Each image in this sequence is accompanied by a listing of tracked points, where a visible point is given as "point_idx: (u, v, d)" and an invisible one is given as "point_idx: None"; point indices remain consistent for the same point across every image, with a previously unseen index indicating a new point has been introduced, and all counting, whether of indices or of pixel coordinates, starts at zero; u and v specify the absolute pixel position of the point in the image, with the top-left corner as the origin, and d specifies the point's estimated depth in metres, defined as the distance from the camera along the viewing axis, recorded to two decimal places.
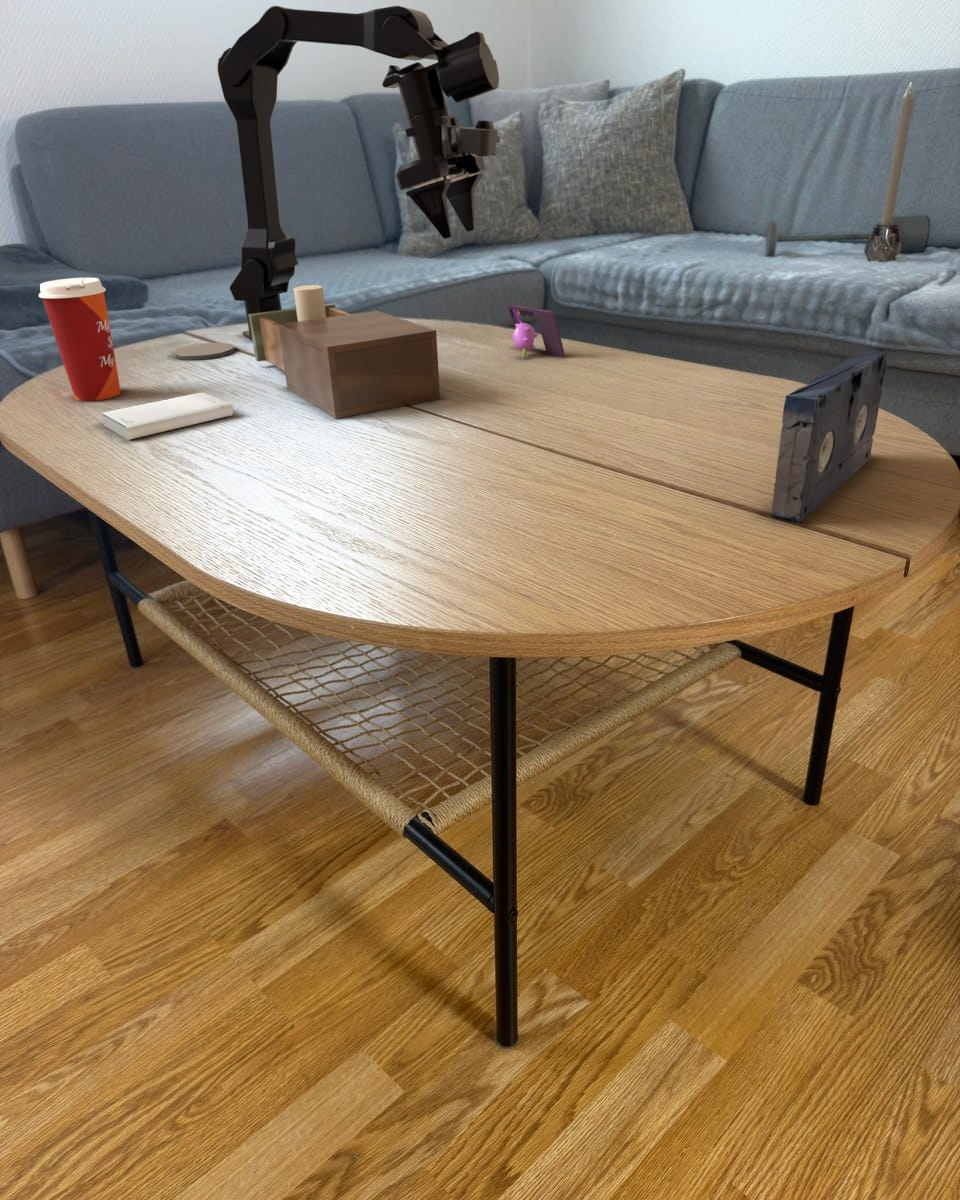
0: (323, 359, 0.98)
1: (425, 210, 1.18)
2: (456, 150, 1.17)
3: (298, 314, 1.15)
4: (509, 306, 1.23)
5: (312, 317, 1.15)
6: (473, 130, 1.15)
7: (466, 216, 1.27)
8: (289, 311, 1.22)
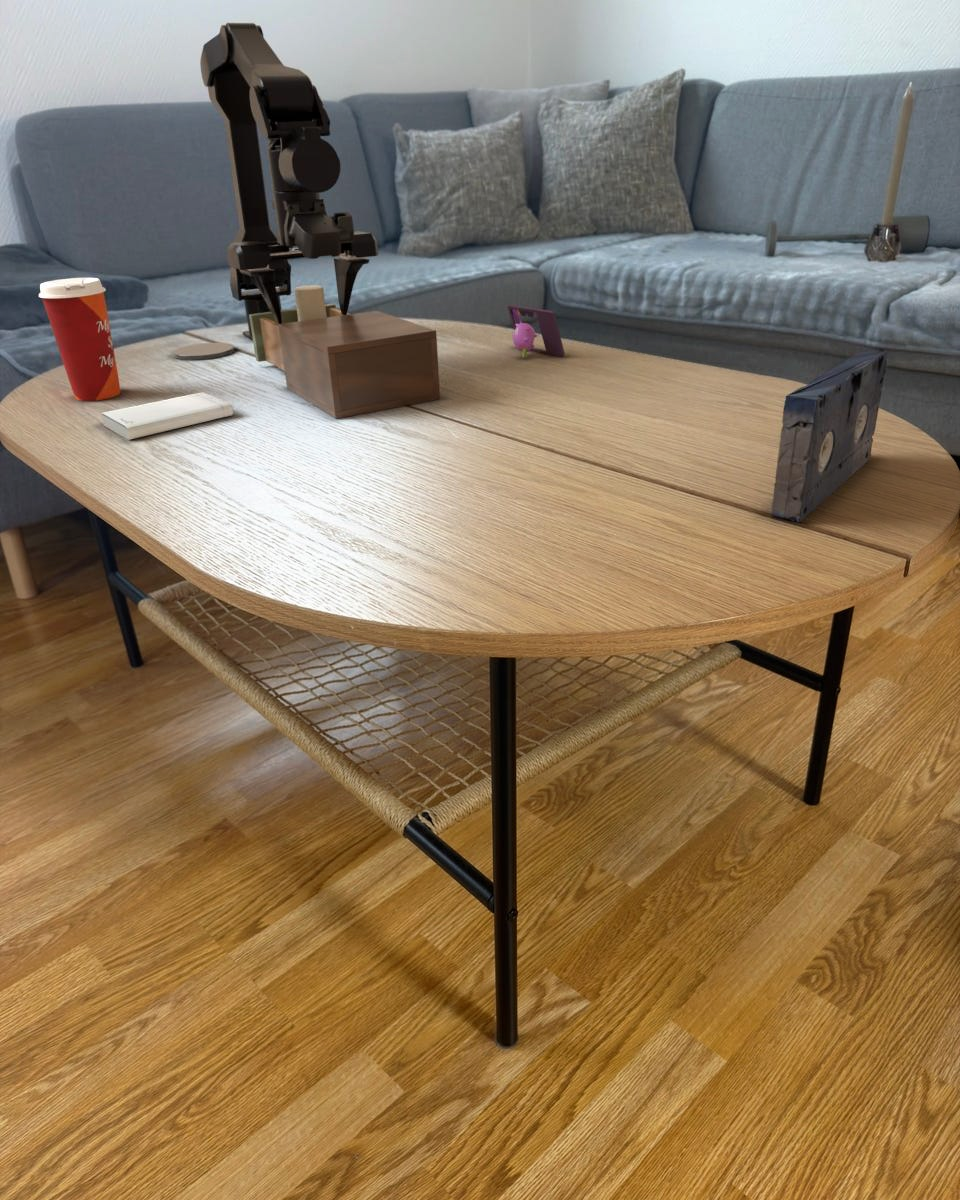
0: (323, 359, 0.98)
1: (260, 290, 1.13)
2: (294, 240, 1.08)
3: (299, 314, 1.15)
4: (509, 306, 1.23)
5: (312, 317, 1.15)
6: (300, 228, 1.05)
7: (341, 299, 1.18)
8: (290, 311, 1.22)
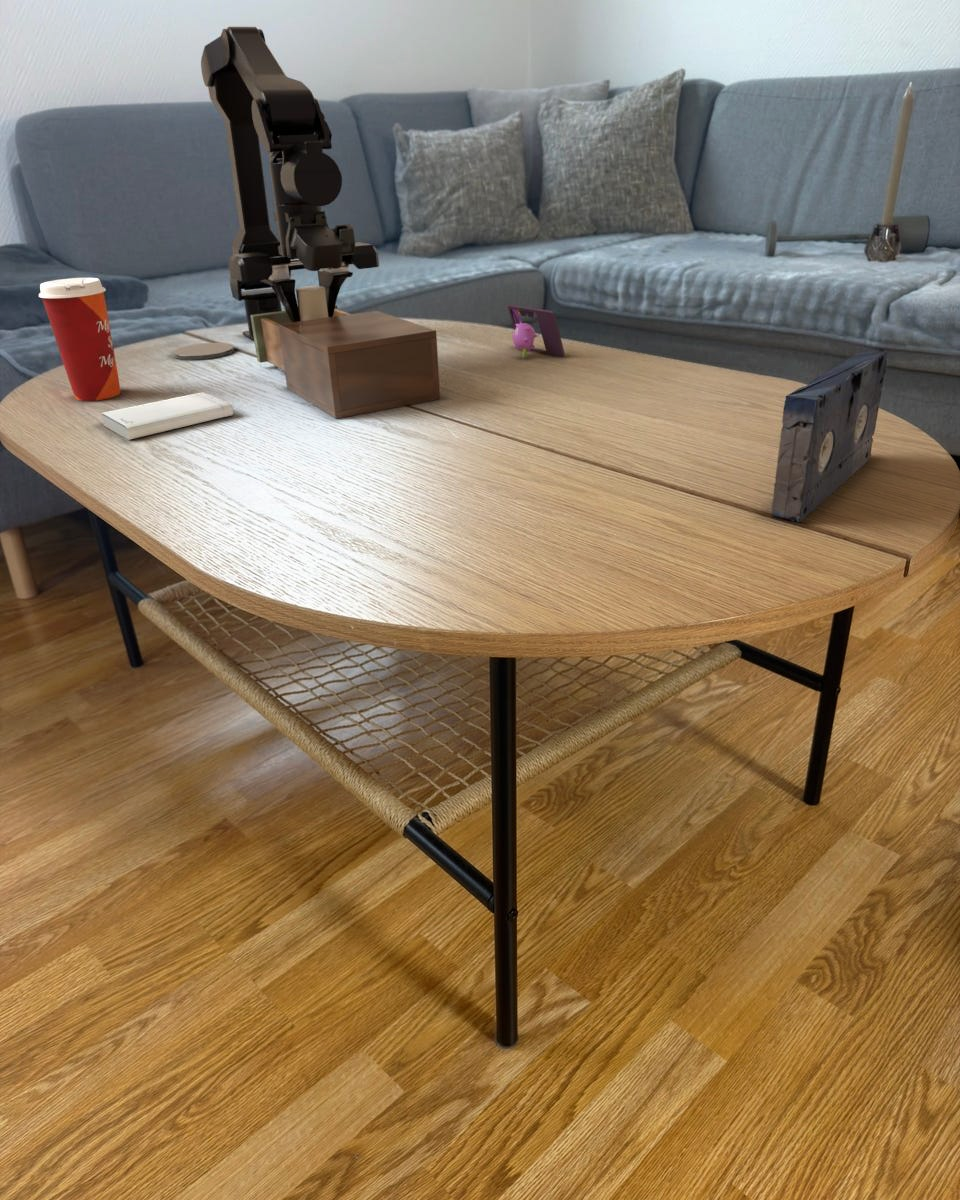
0: (323, 359, 0.98)
1: (280, 299, 1.15)
2: (296, 252, 1.09)
3: (300, 315, 1.15)
4: (509, 306, 1.23)
5: (314, 318, 1.14)
6: (302, 241, 1.06)
7: None
8: None
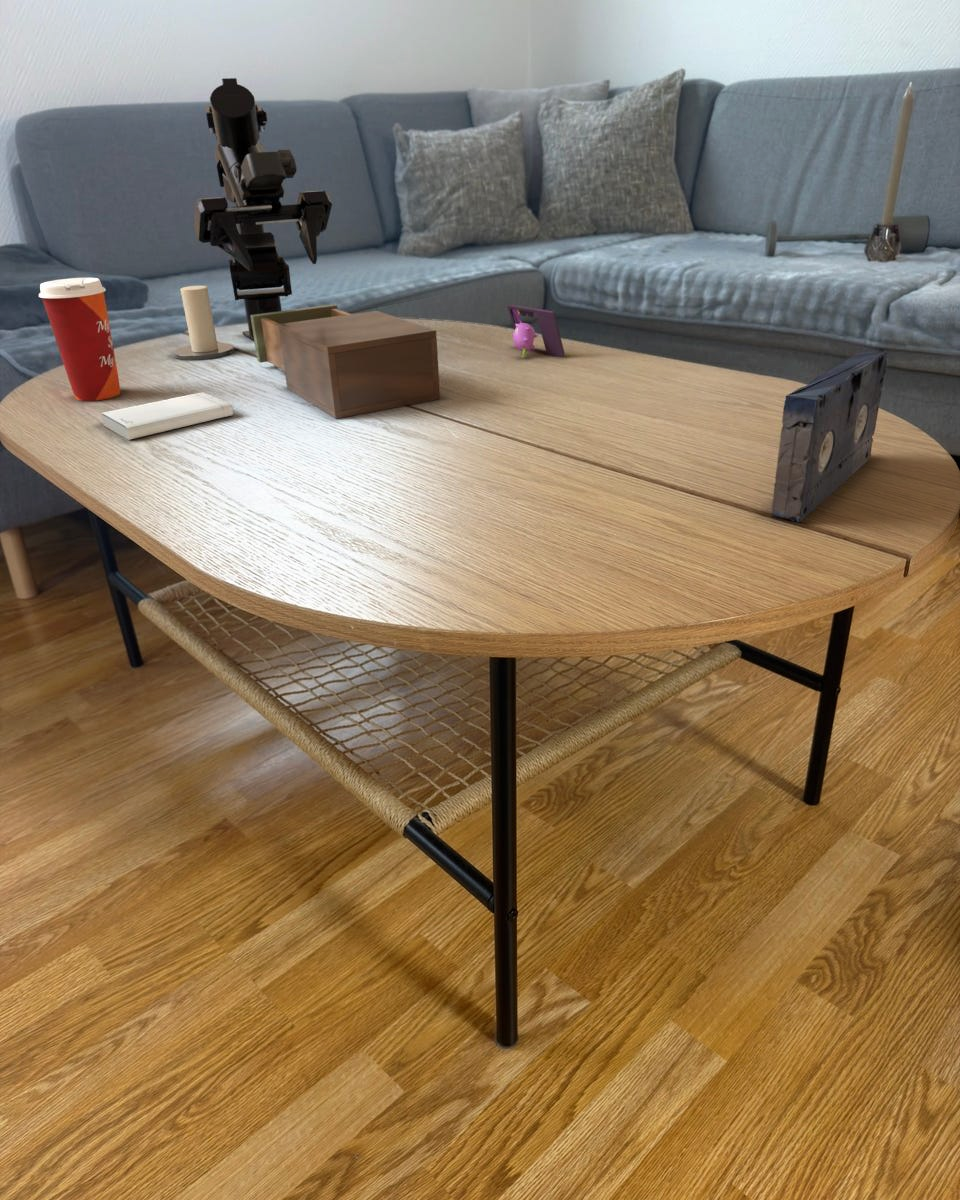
0: (323, 359, 0.98)
1: (230, 252, 1.20)
2: (246, 187, 1.18)
3: (185, 312, 1.28)
4: (509, 306, 1.23)
5: (197, 314, 1.28)
6: (244, 160, 1.15)
7: (309, 250, 1.22)
8: (291, 312, 1.21)
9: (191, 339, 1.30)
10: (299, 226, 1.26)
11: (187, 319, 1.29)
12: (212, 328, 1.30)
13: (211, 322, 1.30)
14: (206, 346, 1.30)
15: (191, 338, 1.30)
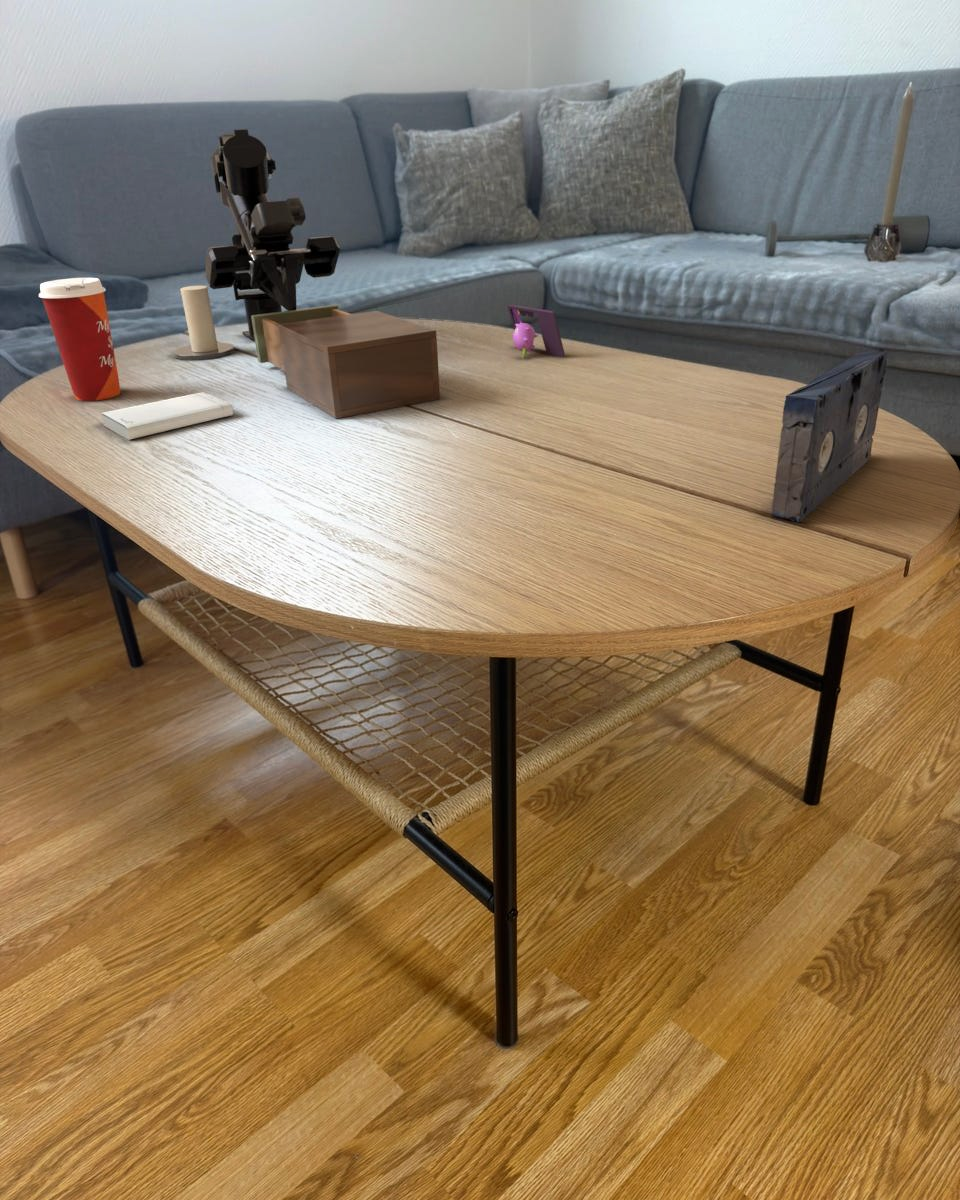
0: (323, 359, 0.98)
1: (271, 294, 1.24)
2: (256, 235, 1.20)
3: (185, 312, 1.28)
4: (509, 306, 1.23)
5: (197, 314, 1.28)
6: (254, 209, 1.18)
7: None
8: (292, 312, 1.21)
9: (191, 339, 1.30)
10: (308, 270, 1.28)
11: (187, 319, 1.29)
12: (212, 328, 1.30)
13: (211, 322, 1.30)
14: (206, 346, 1.30)
15: (191, 338, 1.30)
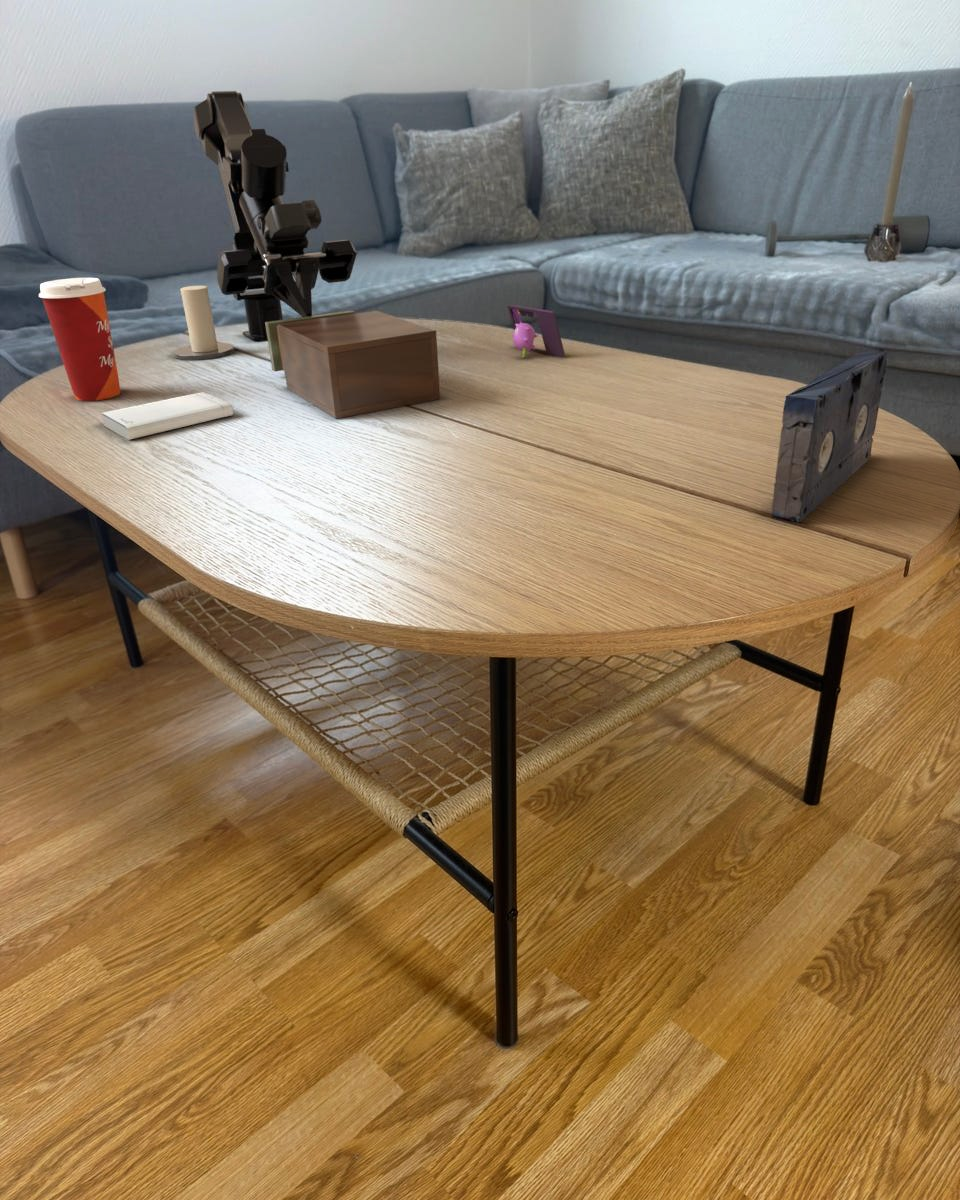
0: (323, 359, 0.98)
1: (285, 300, 1.19)
2: (270, 239, 1.16)
3: (185, 312, 1.28)
4: (509, 306, 1.23)
5: (197, 314, 1.28)
6: (268, 212, 1.13)
7: None
8: (307, 319, 1.16)
9: (191, 339, 1.30)
10: (323, 275, 1.24)
11: (187, 319, 1.29)
12: (212, 328, 1.30)
13: (211, 322, 1.30)
14: (206, 346, 1.30)
15: (191, 338, 1.30)
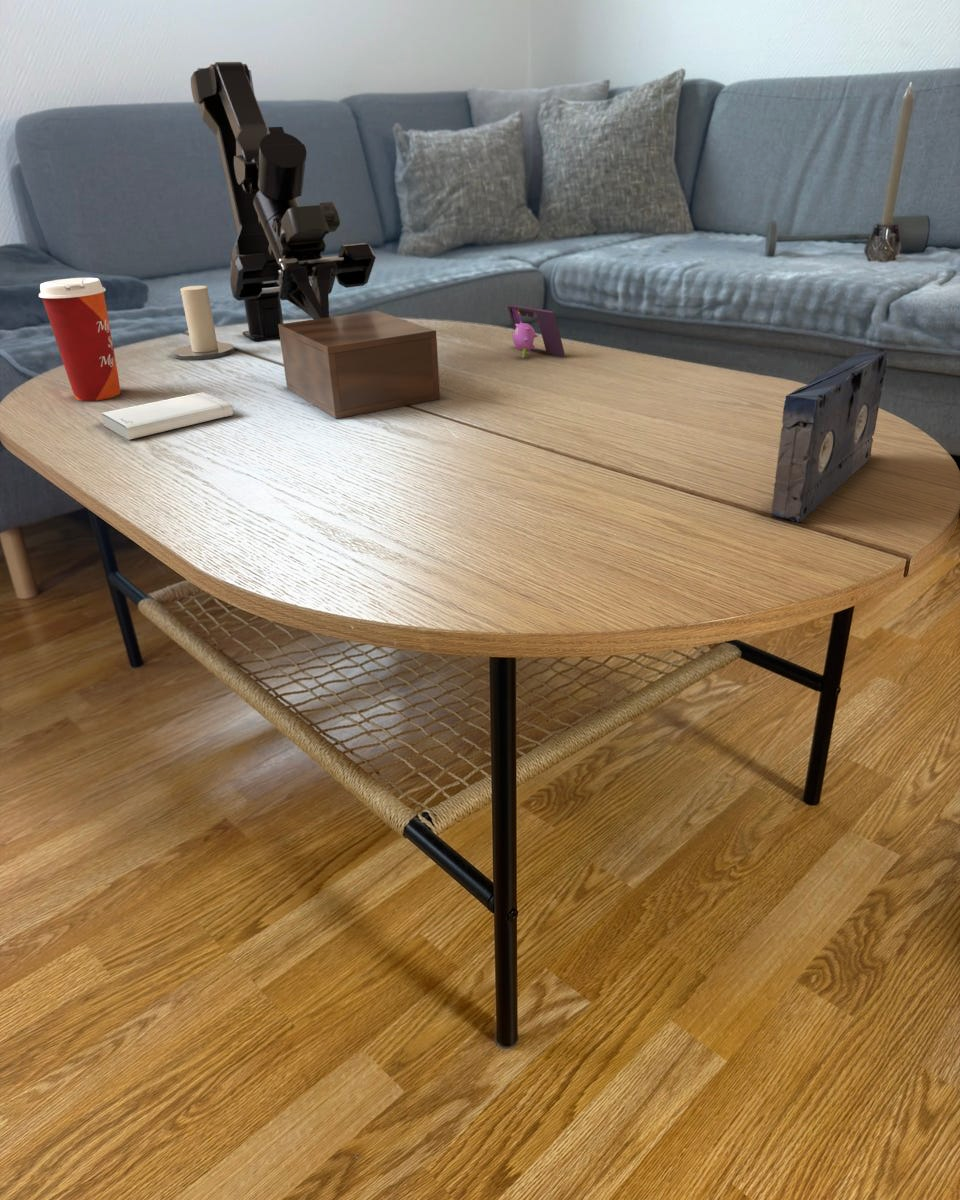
0: (323, 359, 0.98)
1: (301, 306, 1.14)
2: (286, 242, 1.11)
3: (185, 312, 1.28)
4: (509, 306, 1.23)
5: (197, 314, 1.28)
6: (284, 215, 1.08)
7: None
8: None
9: (191, 339, 1.30)
10: (339, 280, 1.19)
11: (187, 319, 1.29)
12: (212, 328, 1.30)
13: (211, 322, 1.30)
14: (206, 346, 1.30)
15: (191, 338, 1.30)
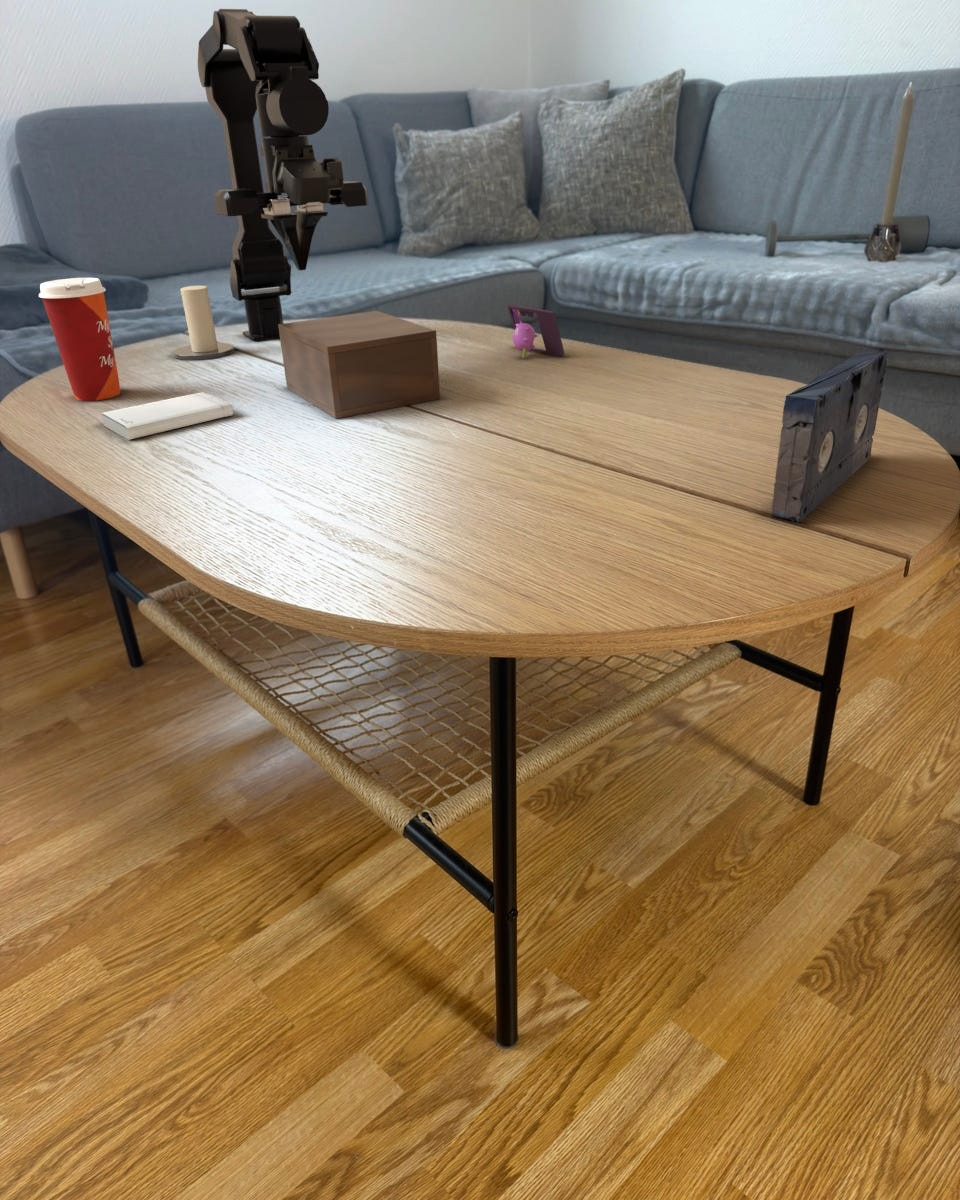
0: (323, 359, 0.98)
1: (281, 236, 1.14)
2: (283, 187, 1.07)
3: (185, 312, 1.28)
4: (509, 306, 1.23)
5: (197, 314, 1.28)
6: (288, 173, 1.03)
7: None
8: None
9: (191, 339, 1.30)
10: None
11: (187, 319, 1.29)
12: (212, 328, 1.30)
13: (211, 322, 1.30)
14: (206, 346, 1.30)
15: (191, 338, 1.30)
